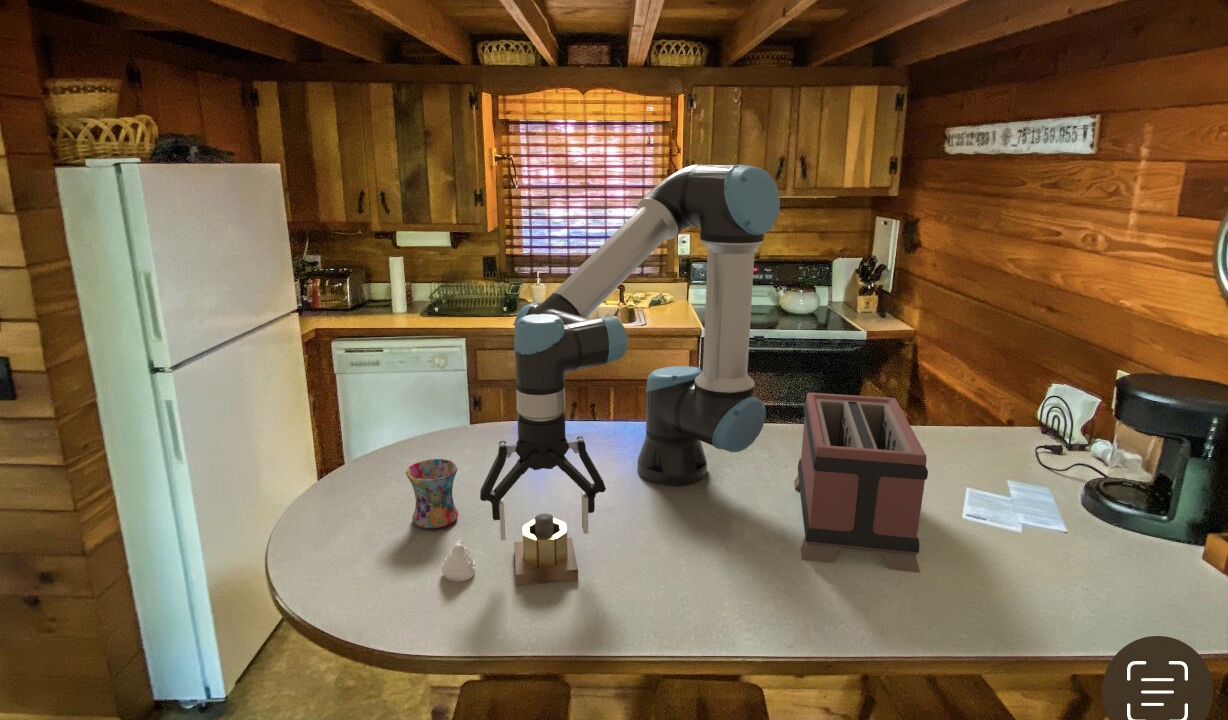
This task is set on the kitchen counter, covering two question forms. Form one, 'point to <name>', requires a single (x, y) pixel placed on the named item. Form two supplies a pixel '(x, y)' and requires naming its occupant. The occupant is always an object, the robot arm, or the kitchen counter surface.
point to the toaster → (860, 480)
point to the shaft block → (547, 574)
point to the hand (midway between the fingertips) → (544, 533)
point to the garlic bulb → (458, 564)
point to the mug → (433, 492)
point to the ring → (545, 545)
